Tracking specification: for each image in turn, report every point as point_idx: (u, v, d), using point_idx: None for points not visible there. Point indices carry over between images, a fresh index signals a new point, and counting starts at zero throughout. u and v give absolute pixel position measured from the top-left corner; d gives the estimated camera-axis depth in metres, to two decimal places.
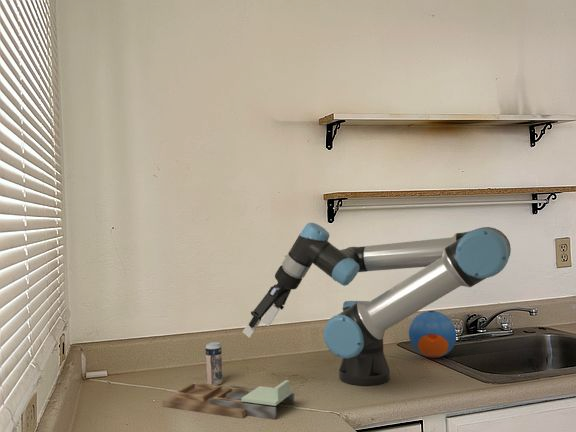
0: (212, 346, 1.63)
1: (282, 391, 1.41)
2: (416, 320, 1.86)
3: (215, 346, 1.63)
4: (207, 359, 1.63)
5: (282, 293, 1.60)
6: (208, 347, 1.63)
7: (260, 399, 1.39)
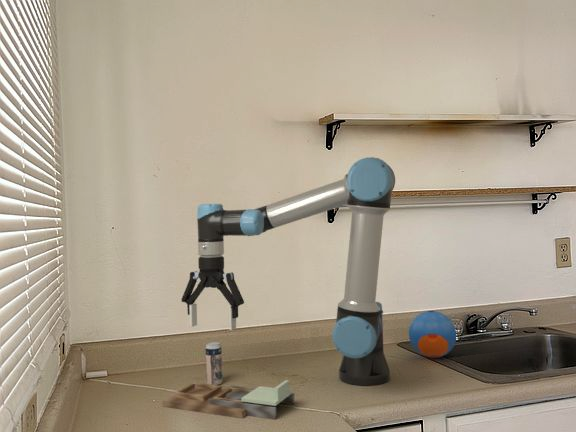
0: (212, 346, 1.63)
1: (282, 391, 1.41)
2: (416, 320, 1.86)
3: (215, 346, 1.63)
4: (207, 359, 1.63)
5: None
6: (208, 347, 1.63)
7: (260, 399, 1.39)
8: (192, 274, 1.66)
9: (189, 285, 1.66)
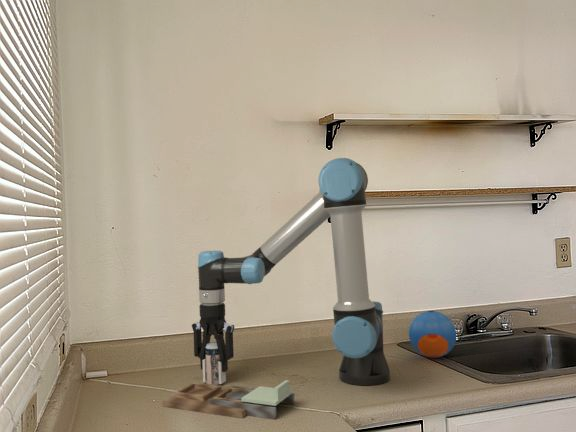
0: (212, 346, 1.63)
1: (282, 391, 1.41)
2: (416, 320, 1.86)
3: (215, 346, 1.63)
4: (207, 359, 1.63)
5: None
6: (208, 347, 1.63)
7: (260, 399, 1.39)
8: (194, 325, 1.66)
9: (195, 337, 1.66)
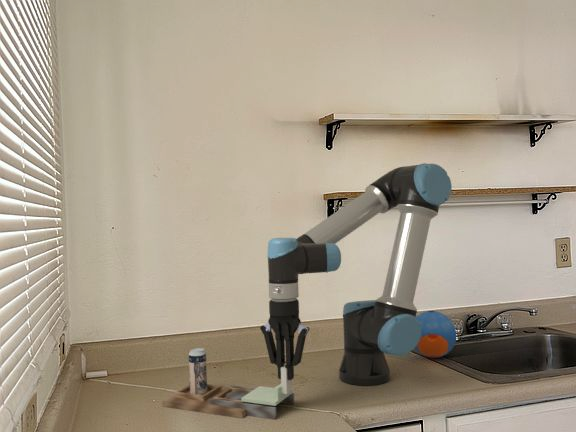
0: (196, 353, 1.50)
1: None
2: None
3: (199, 353, 1.50)
4: (190, 367, 1.50)
5: None
6: (191, 354, 1.50)
7: (260, 399, 1.39)
8: (263, 328, 1.42)
9: (268, 341, 1.41)
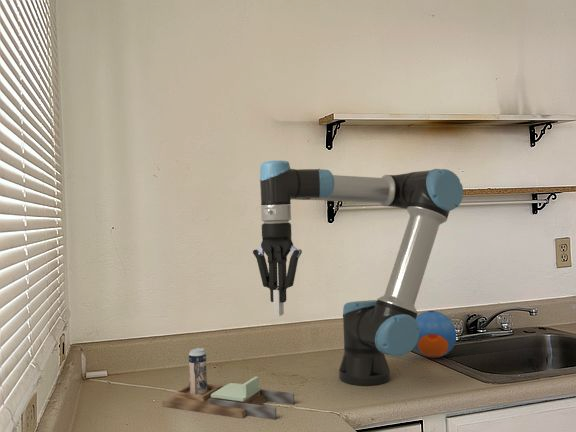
0: (196, 353, 1.50)
1: (251, 387, 1.44)
2: (416, 320, 1.86)
3: (199, 353, 1.50)
4: (190, 367, 1.50)
5: None
6: (191, 354, 1.50)
7: (229, 395, 1.43)
8: (256, 251, 1.42)
9: (260, 264, 1.42)
